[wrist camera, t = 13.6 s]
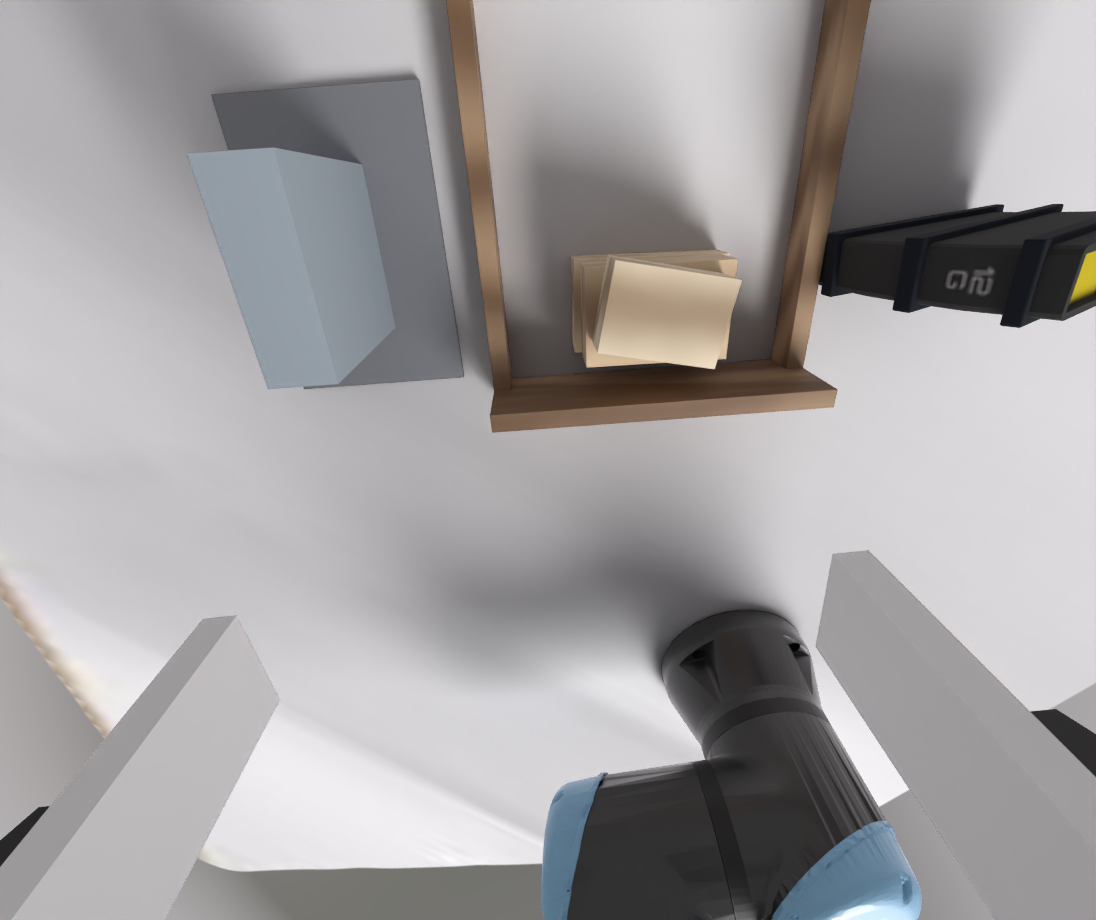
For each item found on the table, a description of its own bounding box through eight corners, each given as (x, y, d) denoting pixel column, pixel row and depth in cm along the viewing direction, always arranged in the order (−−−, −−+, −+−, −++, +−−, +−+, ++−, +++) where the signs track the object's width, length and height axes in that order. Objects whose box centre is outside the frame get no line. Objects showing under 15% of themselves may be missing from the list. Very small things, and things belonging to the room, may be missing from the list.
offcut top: (699, 355, 32) (714, 369, 29) (591, 340, 31) (597, 353, 28) (723, 272, 29) (742, 279, 27) (607, 254, 29) (615, 260, 26)
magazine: (773, 239, 32) (1084, 239, 20) (900, 208, 37) (1215, 192, 24) (769, 298, 34) (1052, 332, 22) (891, 262, 38) (1180, 272, 26)
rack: (784, 373, 38) (833, 407, 32) (498, 394, 38) (492, 432, 32) (864, -110, 26) (970, -206, 20) (441, -78, 26) (413, -163, 20)
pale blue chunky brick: (395, 327, 35) (338, 384, 25) (346, 330, 35) (268, 389, 25) (362, 164, 30) (273, 147, 20) (305, 168, 30) (186, 153, 20)
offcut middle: (710, 346, 34) (725, 358, 32) (582, 354, 34) (586, 367, 32) (720, 253, 32) (737, 258, 29) (580, 262, 32) (584, 268, 29)
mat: (464, 375, 37) (463, 377, 37) (306, 387, 37) (304, 389, 37) (419, 80, 29) (417, 79, 29) (214, 95, 29) (211, 94, 29)
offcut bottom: (704, 335, 37) (718, 346, 34) (571, 341, 37) (575, 352, 34) (714, 248, 34) (730, 253, 32) (570, 255, 34) (574, 259, 31)
